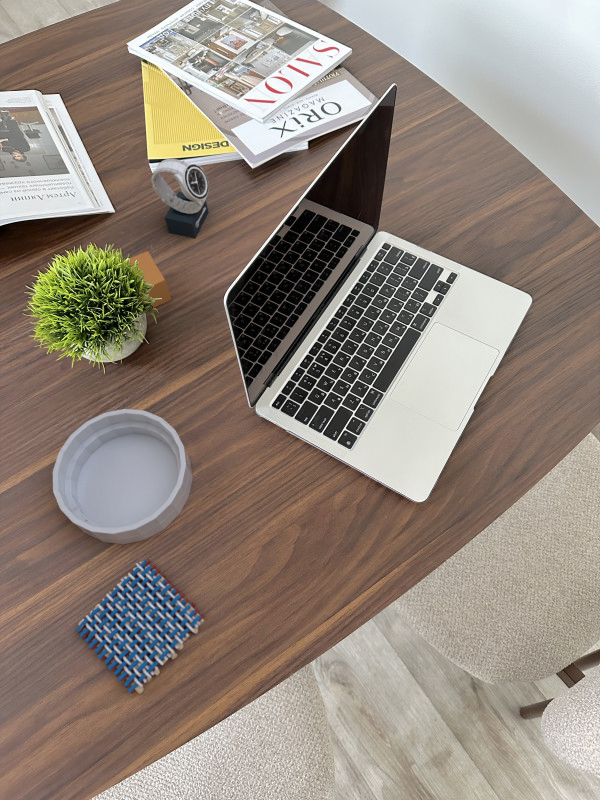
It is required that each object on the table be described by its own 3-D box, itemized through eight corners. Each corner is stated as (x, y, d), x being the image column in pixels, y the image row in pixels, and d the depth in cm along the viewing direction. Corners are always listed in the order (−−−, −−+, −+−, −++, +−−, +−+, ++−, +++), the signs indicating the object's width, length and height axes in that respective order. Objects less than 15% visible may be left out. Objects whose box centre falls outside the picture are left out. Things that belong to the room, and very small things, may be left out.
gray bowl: (94, 569, 72) (79, 558, 67) (51, 462, 78) (35, 446, 74) (213, 505, 75) (207, 491, 71) (162, 407, 81) (154, 388, 77)
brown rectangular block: (152, 308, 89) (144, 288, 85) (132, 272, 92) (123, 251, 88) (171, 299, 89) (165, 279, 85) (150, 264, 93) (143, 243, 89)
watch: (207, 241, 94) (194, 184, 85) (158, 230, 96) (140, 173, 86) (220, 214, 97) (209, 156, 87) (172, 204, 98) (156, 146, 88)
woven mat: (211, 620, 69) (208, 617, 67) (137, 699, 65) (132, 698, 64) (148, 556, 72) (144, 552, 71) (75, 628, 69) (69, 625, 67)
